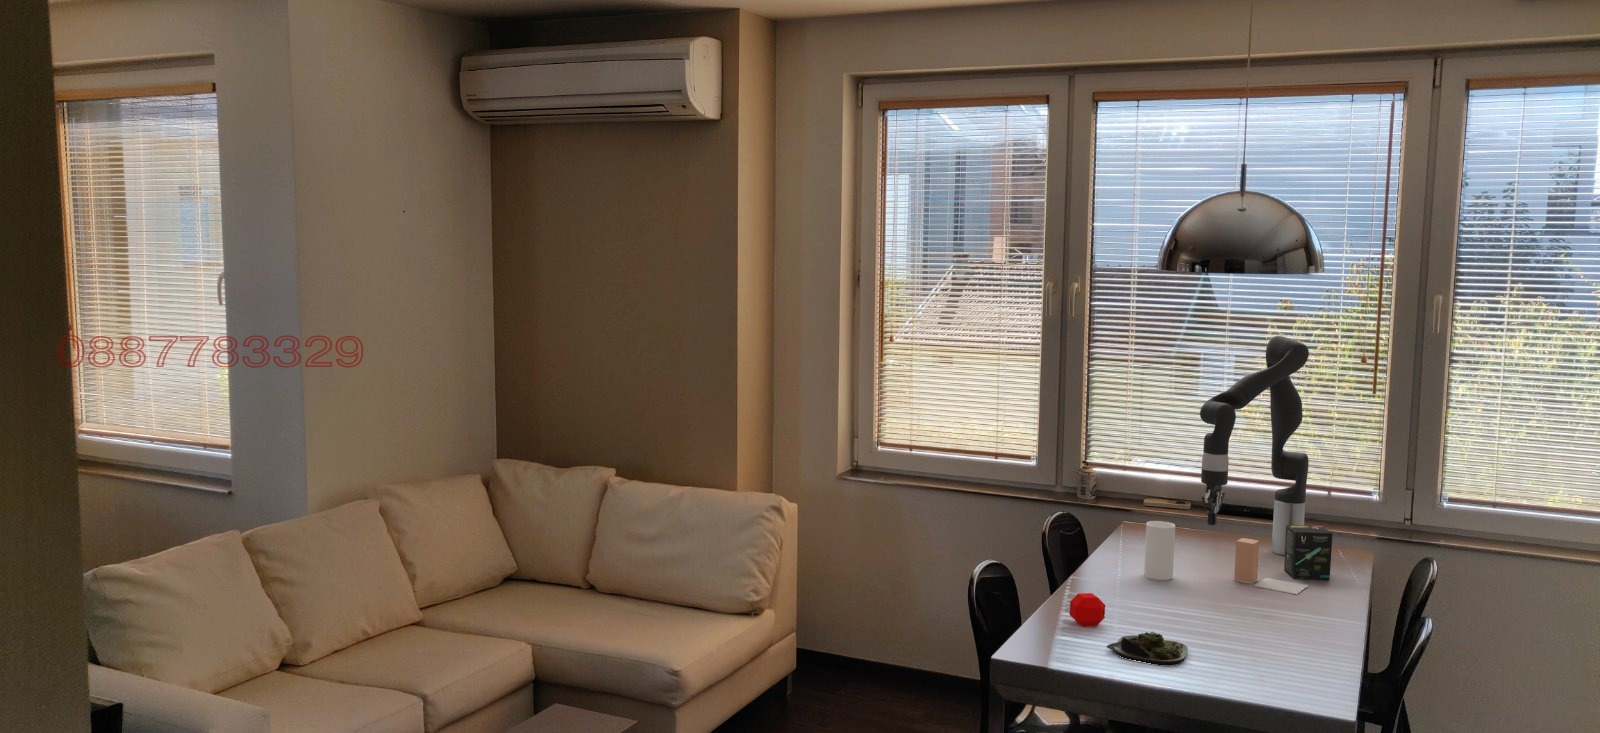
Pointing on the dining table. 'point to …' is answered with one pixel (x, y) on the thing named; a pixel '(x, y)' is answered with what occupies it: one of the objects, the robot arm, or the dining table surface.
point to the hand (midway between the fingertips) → (1211, 524)
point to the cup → (1159, 550)
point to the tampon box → (1308, 552)
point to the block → (1246, 560)
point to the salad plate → (1150, 649)
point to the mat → (1281, 586)
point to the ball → (1087, 609)
